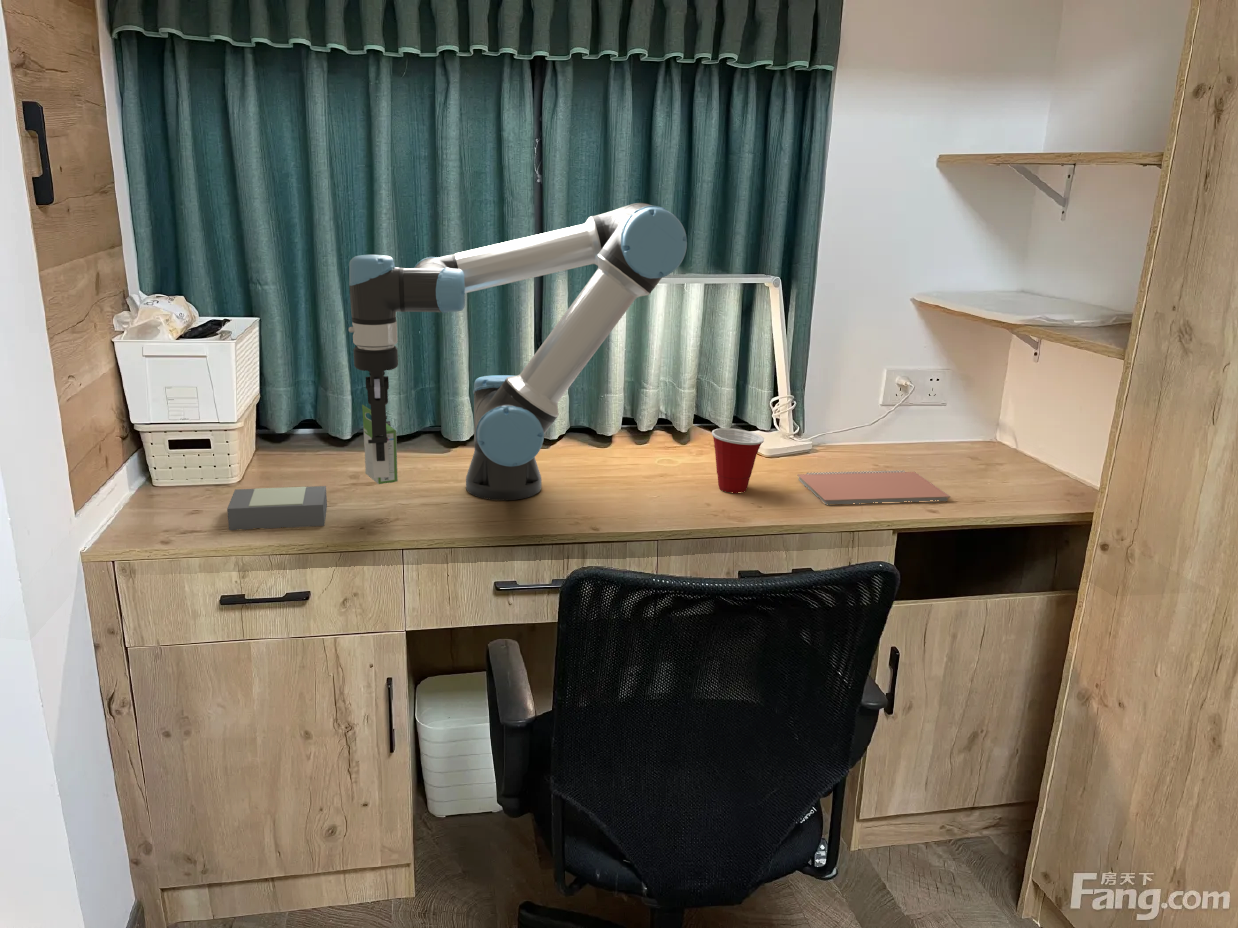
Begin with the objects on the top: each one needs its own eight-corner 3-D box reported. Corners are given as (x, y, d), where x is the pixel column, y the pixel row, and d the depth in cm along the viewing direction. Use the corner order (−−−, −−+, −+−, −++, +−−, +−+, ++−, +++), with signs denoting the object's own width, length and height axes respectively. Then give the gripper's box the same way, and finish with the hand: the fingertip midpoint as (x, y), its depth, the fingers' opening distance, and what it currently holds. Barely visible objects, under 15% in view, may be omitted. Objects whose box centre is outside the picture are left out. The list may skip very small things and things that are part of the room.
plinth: (327, 505, 183) (325, 484, 182) (324, 525, 174) (323, 503, 172) (236, 509, 179) (234, 488, 178) (229, 530, 170) (227, 507, 169)
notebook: (911, 477, 215) (912, 468, 214) (949, 504, 199) (950, 495, 199) (794, 480, 210) (795, 471, 209) (824, 508, 194) (825, 498, 194)
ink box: (399, 482, 176) (396, 410, 172) (377, 485, 174) (374, 413, 169) (385, 471, 181) (382, 401, 177) (365, 474, 179) (361, 403, 175)
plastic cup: (769, 495, 199) (775, 438, 195) (723, 500, 195) (727, 443, 191) (743, 478, 208) (748, 424, 204) (698, 483, 204) (702, 428, 200)
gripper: (354, 334, 178) (361, 453, 186) (351, 358, 159) (359, 489, 167) (396, 334, 180) (401, 451, 187) (398, 357, 161) (404, 487, 168)
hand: (381, 469), depth 177 cm, fingers closed on ink box, 8 cm apart
